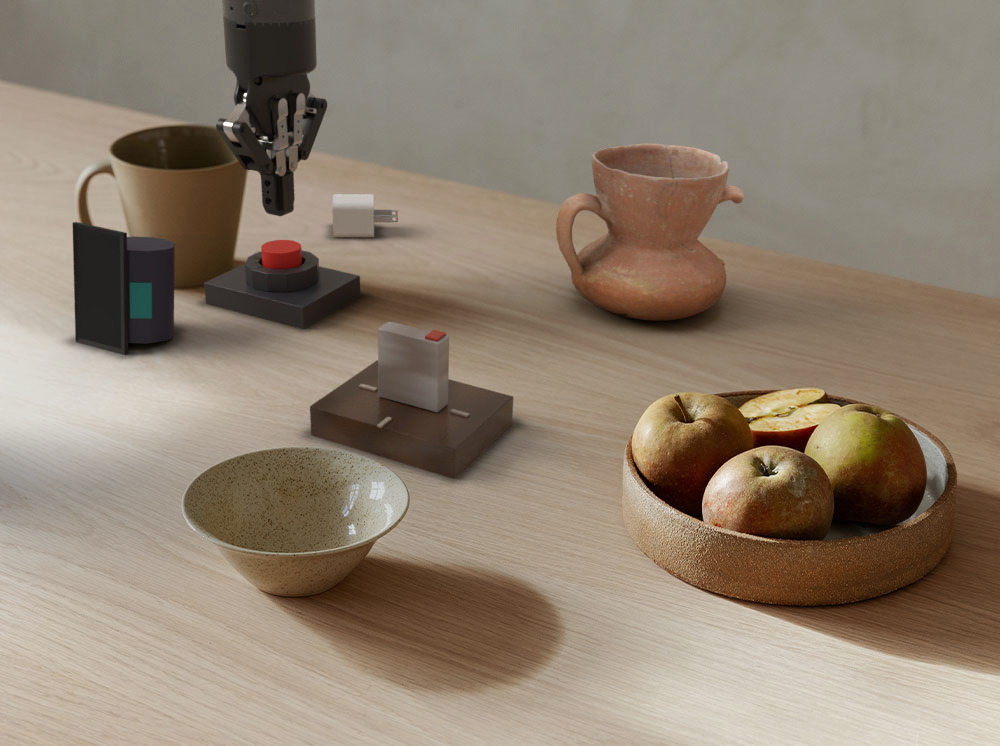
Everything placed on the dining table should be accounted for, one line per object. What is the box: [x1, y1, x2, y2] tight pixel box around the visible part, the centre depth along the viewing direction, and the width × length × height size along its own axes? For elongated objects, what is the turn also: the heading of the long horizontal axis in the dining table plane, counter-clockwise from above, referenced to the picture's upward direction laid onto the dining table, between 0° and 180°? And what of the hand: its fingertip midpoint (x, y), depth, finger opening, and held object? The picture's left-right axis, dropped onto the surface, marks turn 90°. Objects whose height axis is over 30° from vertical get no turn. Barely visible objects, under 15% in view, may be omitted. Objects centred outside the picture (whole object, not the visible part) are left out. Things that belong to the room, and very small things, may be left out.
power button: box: [260, 239, 303, 269], centre depth 101 cm, size 4×4×2 cm
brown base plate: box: [309, 359, 514, 480], centre depth 81 cm, size 12×9×3 cm
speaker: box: [72, 221, 176, 356], centre depth 92 cm, size 8×6×10 cm
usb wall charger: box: [332, 193, 399, 239], centre depth 120 cm, size 4×7×4 cm, turn 96°
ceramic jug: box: [555, 143, 745, 322], centre depth 102 cm, size 18×14×14 cm
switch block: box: [203, 249, 361, 330], centre depth 102 cm, size 11×9×4 cm
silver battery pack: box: [377, 321, 450, 412], centre depth 79 cm, size 5×2×6 cm, turn 64°
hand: (279, 212), depth 99 cm, fingers closed
